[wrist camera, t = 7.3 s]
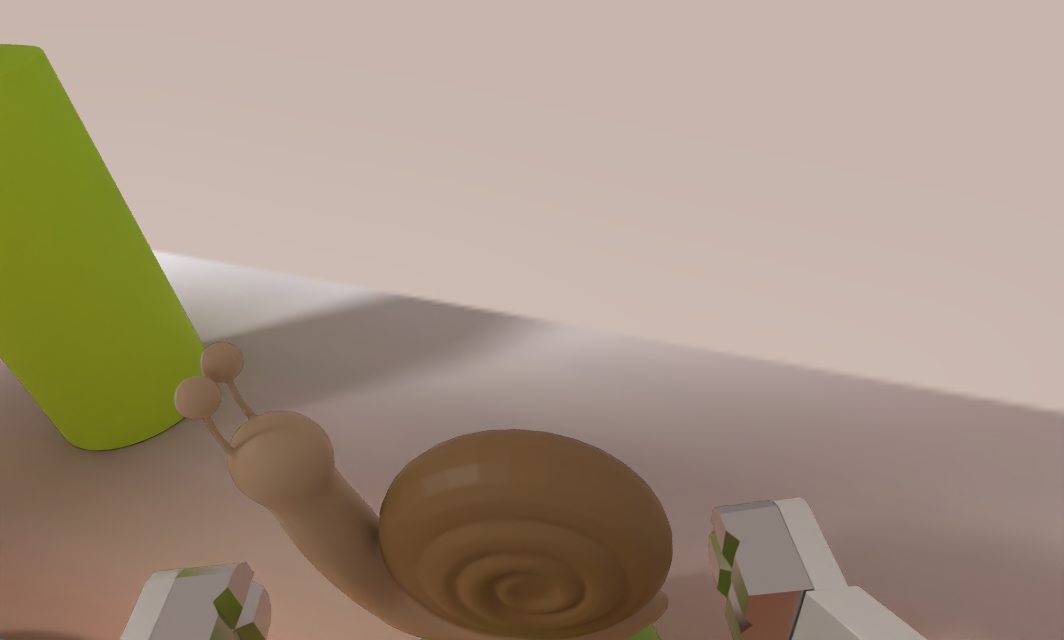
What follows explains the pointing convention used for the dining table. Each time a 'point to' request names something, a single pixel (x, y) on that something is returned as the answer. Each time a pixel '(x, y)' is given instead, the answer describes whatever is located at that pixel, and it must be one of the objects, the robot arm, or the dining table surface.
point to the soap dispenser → (80, 275)
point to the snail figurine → (460, 525)
